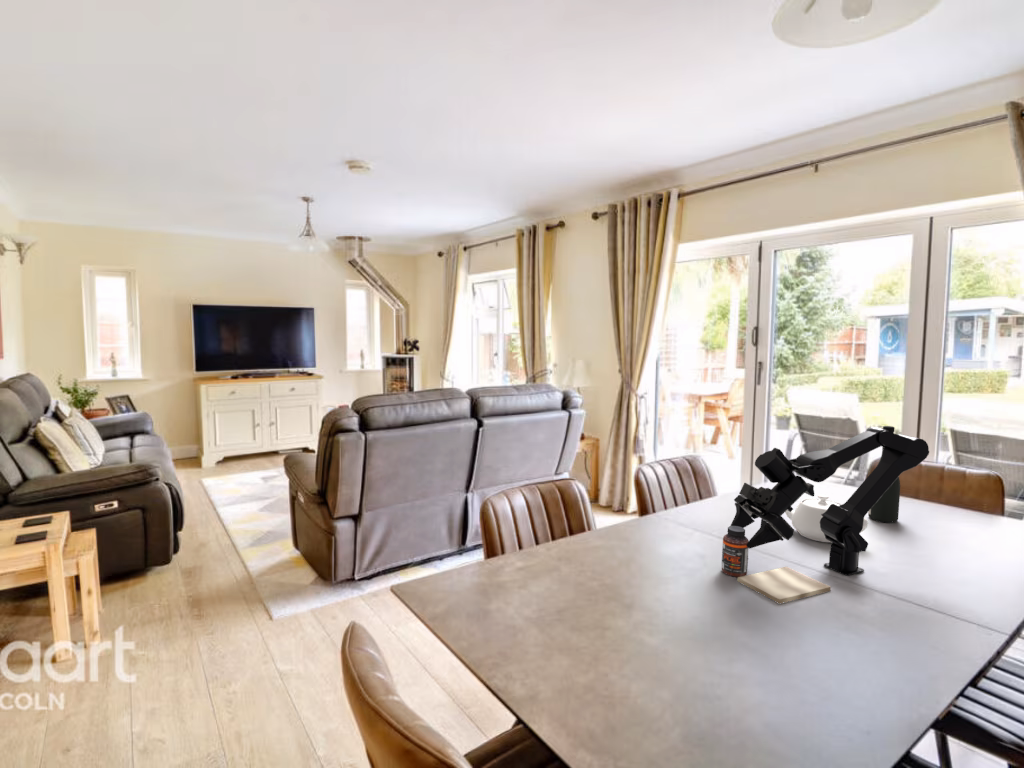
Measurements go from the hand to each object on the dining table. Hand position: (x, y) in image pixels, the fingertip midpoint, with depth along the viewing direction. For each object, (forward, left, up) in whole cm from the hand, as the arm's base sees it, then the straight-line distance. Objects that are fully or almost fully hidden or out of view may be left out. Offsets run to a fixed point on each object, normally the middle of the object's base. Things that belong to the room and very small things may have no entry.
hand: (738, 539), depth 136 cm
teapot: (-41, -10, -9) cm, 44 cm away
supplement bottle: (+1, 0, -9) cm, 9 cm away
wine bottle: (-73, -12, -8) cm, 75 cm away
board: (-4, +10, -8) cm, 14 cm away
